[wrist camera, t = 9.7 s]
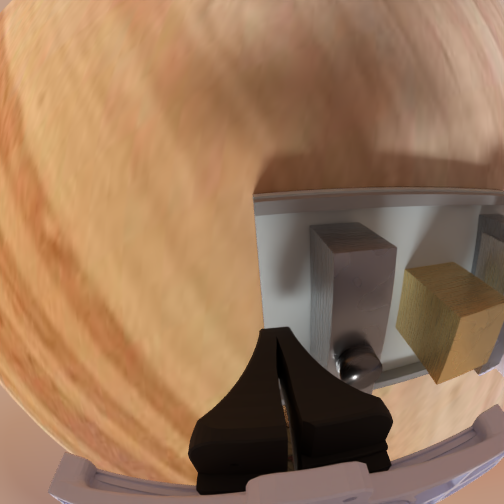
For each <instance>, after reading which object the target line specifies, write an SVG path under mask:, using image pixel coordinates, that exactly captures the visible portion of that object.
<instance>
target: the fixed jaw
mask: <svg viewBox="0 0 504 504" xmlns="http://www.w3.org/2000/svg"><path fill="white" fill-rule="evenodd" d="M471 273H472V274H473V275H475V276H476V277H478V278H479V279H481V280H482V281H484V282H485V283H486V284H488V285H489V286H491V287H492V288H494V289H495V290H496V291H498V292H499V293H501V294H502V295H503V296H504V215H502V214H479V219H478V229H477V237H476V245H475V251H474V258H473V263H472V269H471ZM503 354H504V322H503V325H502V327H501V330H500V333H499V335H498V338H497V341H496V343H495V346H494V348H493V350H492V353H491V355H490V357H489V360H488V362H487V363H486V364H484V365H482V366H479V367H477V368H475V369H474V370H475V371H476V373H477V374H478V375H479V374H481V373H483V372H485V371H487V370H489V369H491V368H493V367H495V366H496V365H498V364H499V363H500V361H501V359H502V356H503Z"/></svg>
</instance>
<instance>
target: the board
mask: <svg viewBox="0 0 504 504" xmlns="http://www.w3.org/2000/svg"><path fill="white" fill-rule="evenodd" d="M253 203H254V214H255V225H256V237H257V248H258V259H259V271H260V283H261V294H262V306H263V318H264V329H266V328H276V327H286V326H288V327H289V328H290V329H291V330H292V332H293V334H294V335H295V337H296V338H297V339H298V341H299V342H300V343H301V345H302V346H303V347H304V348H305V349H306V350H307V352H308V353H310V302H311V282H310V231H309V225H322V224H335V223H349V222H359V223H361V224H363V225H364V226H366V227H367V228H369V229H370V230H372V231H373V232H375V233H376V234H378V235H380V236H381V237H383V238H384V239H386V240H387V241H389V242H390V243H392V244H393V245H394V246H396V247H397V257H396V267H395V268H396V270H395V278H394V286H393V294H392V301H391V307H390V314H389V320H388V325H387V331H386V336H385V341H384V346H383V350H382V355H381V359H380V362H381V364H382V367H383V370H382V373H381V375H380V377H379V378H378V380H377V381H376V382H375V383H374V387H373V390H374V389H378V388H382V387H385V386H389V385H393V384H397V383H400V382H403V381H407V380H410V379H413V378H417V377H420V376H423V375H426V374H429V373H428V371H427V370H426V369H425V367H424V366H423V364H422V363H421V362H420V360H419V359H418V357H417V356H416V355H415V353H414V352H413V351H412V349H411V348H410V346H409V345H408V344H407V342H406V341H405V340H404V338H403V337H402V336H401V334H400V333H399V332H398V330H397V329H396V328H395V326H396V321H397V315H398V310H399V304H400V298H401V291H402V284H403V277H404V269H408V268H415V267H422V266H429V265H435V264H442V263H448V262H455V263H456V264H458V265H460V266H461V267H463V268H464V269H466V270H467V271H469V272H470V273H471V269H472V263H473V258H474V251H475V245H476V237H477V229H478V219H479V214H502V215H504V191H502V190H490V189H471V188H443V187H372V188H341V189H320V190H302V191H287V192H274V193H262V194H253ZM279 388H280V395H281V400H282V405H285V402H284V398H283V394H282V390H281V385H280V381H279Z"/></svg>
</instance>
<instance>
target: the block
mask: <svg viewBox="0 0 504 504" xmlns="http://www.w3.org/2000/svg"><path fill="white" fill-rule="evenodd" d="M503 322H504V296H503V295H502V294H501V293H499V292H498V291H496V290H495V289H494V288H492V287H491V286H489V285H488V284H486V283H485V282H484V281H482V280H481V279H479V278H478V277H476V276H475V275H473V274H472V273H470V272H469V271H467V270H466V269H464V268H463V267H461V266H460V265H458V264H456V263H455V262H448V263H442V264H435V265H429V266H422V267H415V268H408V269H404V277H403V284H402V291H401V298H400V304H399V310H398V315H397V321H396V326H395V328H396V329H397V330H398V332H399V333H400V334H401V336H402V337H403V338H404V340H405V341H406V342H407V344H408V345H409V346H410V348H411V349H412V351H413V352H414V353H415V355H416V356H417V357H418V359H419V360H420V362H421V363H422V364H423V366H424V367H425V369H426V370H427V371H428V373H429V374H430V376H431V377H432V379H433V380H434V382H435V383H436V384H440V383H442V382H445V381H447V380H450V379H452V378H455V377H457V376H460V375H462V374H464V373H466V372H469V371H471V370H473V369H475V368H477V367H479V366H482V365H484V364H486V363H487V362H488V360H489V357H490V355H491V353H492V350H493V348H494V346H495V343H496V341H497V338H498V335H499V333H500V330H501V327H502V325H503Z"/></svg>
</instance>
